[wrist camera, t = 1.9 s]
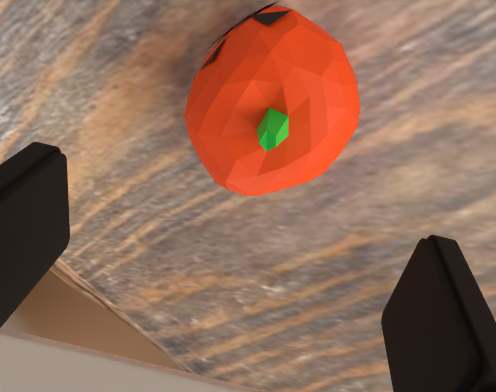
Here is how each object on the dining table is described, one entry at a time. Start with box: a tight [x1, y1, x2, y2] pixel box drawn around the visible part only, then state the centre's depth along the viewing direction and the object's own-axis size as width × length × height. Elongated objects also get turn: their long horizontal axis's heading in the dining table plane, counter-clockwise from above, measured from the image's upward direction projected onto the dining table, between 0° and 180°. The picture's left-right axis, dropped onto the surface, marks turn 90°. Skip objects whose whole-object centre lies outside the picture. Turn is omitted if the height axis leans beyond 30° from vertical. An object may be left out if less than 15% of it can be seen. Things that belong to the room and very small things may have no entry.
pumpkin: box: [184, 2, 360, 196], centre depth 18 cm, size 7×8×6 cm
